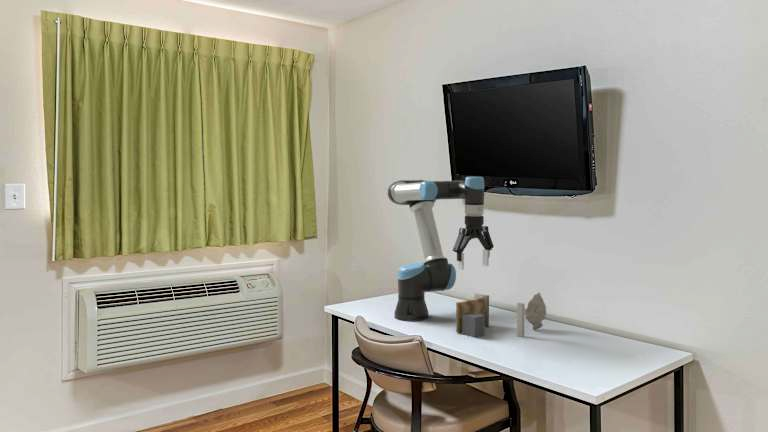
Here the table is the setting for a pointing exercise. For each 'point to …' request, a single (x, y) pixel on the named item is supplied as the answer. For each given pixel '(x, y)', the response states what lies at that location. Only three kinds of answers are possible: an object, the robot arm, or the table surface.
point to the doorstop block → (473, 324)
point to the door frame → (519, 314)
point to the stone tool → (536, 311)
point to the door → (469, 310)
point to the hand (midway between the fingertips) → (473, 267)
